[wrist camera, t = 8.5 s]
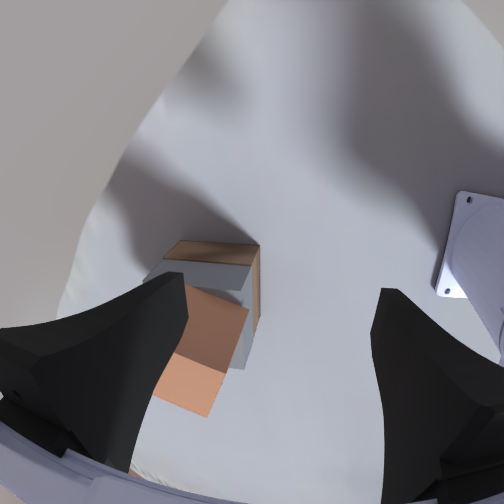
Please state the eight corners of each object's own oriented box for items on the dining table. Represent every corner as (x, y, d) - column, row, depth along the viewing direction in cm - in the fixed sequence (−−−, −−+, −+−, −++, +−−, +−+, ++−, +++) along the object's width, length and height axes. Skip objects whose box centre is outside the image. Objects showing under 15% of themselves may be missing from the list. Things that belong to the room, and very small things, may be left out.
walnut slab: (260, 245, 22) (251, 264, 19) (260, 315, 24) (252, 339, 22) (180, 240, 23) (163, 257, 20) (189, 307, 26) (175, 328, 23)
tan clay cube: (249, 309, 17) (226, 374, 13) (230, 356, 19) (207, 417, 14) (182, 282, 17) (141, 337, 13) (172, 332, 19) (137, 387, 15)
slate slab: (251, 266, 19) (240, 291, 17) (253, 340, 22) (244, 369, 19) (163, 258, 20) (142, 280, 18) (175, 329, 23) (159, 355, 20)
